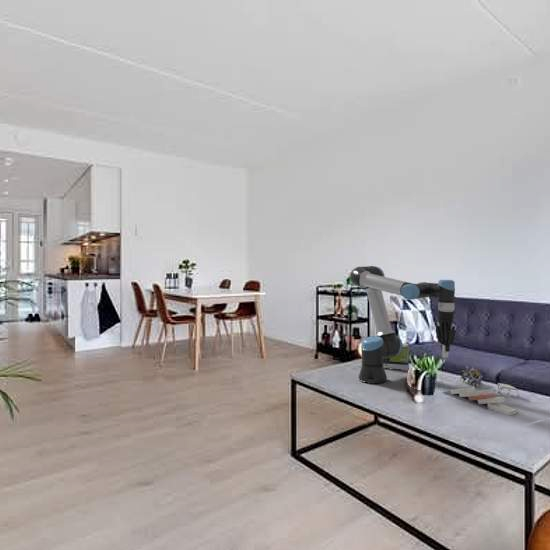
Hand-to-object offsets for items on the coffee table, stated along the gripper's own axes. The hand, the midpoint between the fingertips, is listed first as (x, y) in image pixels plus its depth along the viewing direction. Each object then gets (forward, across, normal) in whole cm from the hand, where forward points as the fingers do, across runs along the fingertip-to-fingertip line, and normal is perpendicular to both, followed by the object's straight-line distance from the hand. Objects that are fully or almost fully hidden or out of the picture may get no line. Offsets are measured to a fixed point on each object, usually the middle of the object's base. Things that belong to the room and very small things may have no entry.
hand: (445, 357), depth 201 cm
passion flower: (+17, -1, +19) cm, 26 cm away
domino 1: (+16, +6, 0) cm, 17 cm away
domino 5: (+15, +26, 0) cm, 30 cm away
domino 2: (+15, +11, 0) cm, 19 cm away
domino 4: (+15, +21, 0) cm, 26 cm away
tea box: (+18, -45, +7) cm, 49 cm away
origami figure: (+17, +20, +20) cm, 32 cm away
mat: (+17, +15, 0) cm, 22 cm away
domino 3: (+15, +16, 0) cm, 22 cm away
